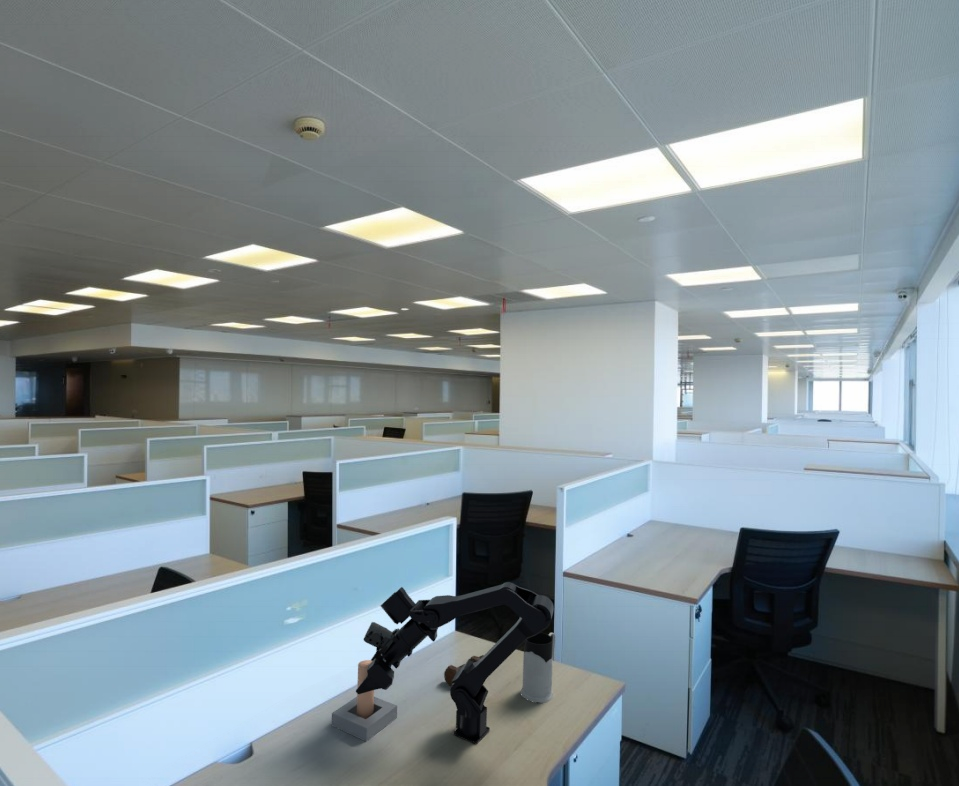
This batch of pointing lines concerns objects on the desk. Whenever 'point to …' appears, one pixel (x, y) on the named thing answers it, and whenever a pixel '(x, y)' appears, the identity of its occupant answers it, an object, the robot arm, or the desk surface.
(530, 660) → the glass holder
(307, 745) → the desk surface
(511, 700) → the desk surface
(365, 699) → the peg
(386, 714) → the socket block
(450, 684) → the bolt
